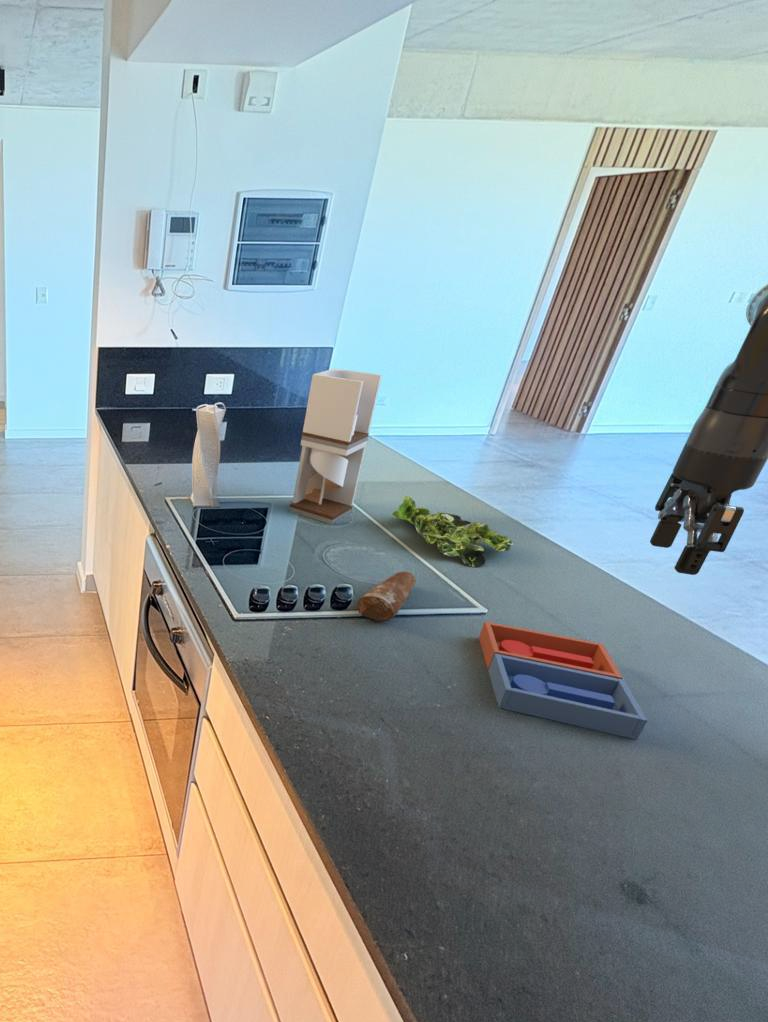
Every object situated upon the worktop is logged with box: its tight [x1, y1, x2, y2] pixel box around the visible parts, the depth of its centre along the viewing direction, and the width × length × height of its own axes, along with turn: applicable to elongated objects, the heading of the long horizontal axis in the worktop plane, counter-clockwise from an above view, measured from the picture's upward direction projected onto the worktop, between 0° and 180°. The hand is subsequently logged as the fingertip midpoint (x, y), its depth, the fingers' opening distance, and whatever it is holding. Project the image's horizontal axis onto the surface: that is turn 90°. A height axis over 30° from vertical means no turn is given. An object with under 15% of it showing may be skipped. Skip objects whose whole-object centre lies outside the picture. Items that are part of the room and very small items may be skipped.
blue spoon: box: [510, 674, 615, 710], centre depth 93 cm, size 12×5×2 cm, turn 66°
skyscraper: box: [188, 401, 227, 508], centre depth 159 cm, size 8×8×28 cm
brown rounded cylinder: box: [356, 570, 417, 622], centre depth 118 cm, size 6×19×6 cm, turn 133°
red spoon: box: [499, 640, 594, 669], centre depth 101 cm, size 12×5×2 cm, turn 66°
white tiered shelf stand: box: [288, 367, 383, 525], centre depth 151 cm, size 11×11×35 cm
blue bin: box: [487, 653, 649, 740], centre depth 93 cm, size 17×10×4 cm, turn 65°
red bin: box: [478, 621, 624, 680], centre depth 101 cm, size 17×10×4 cm, turn 65°
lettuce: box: [391, 495, 515, 568], centre depth 142 cm, size 18×25×7 cm
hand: (671, 558), depth 85 cm, fingers open, 8 cm apart
